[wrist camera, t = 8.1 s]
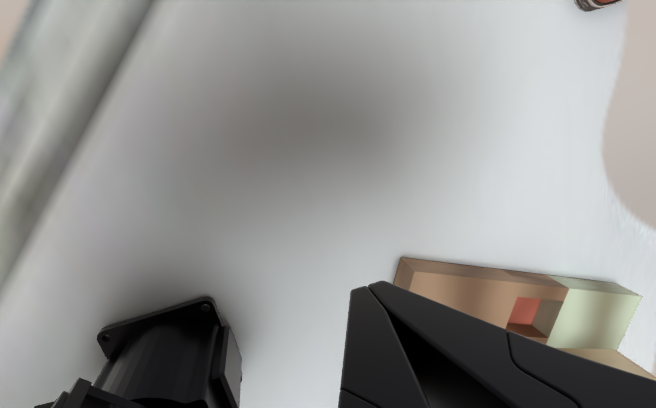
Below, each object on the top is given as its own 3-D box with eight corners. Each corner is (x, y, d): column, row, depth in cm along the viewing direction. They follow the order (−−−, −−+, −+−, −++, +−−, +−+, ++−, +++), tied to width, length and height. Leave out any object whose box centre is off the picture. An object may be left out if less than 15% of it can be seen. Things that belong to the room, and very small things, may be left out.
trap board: (346, 448, 26) (354, 475, 24) (400, 257, 22) (414, 271, 20) (544, 441, 31) (563, 463, 29) (615, 283, 27) (642, 296, 25)
